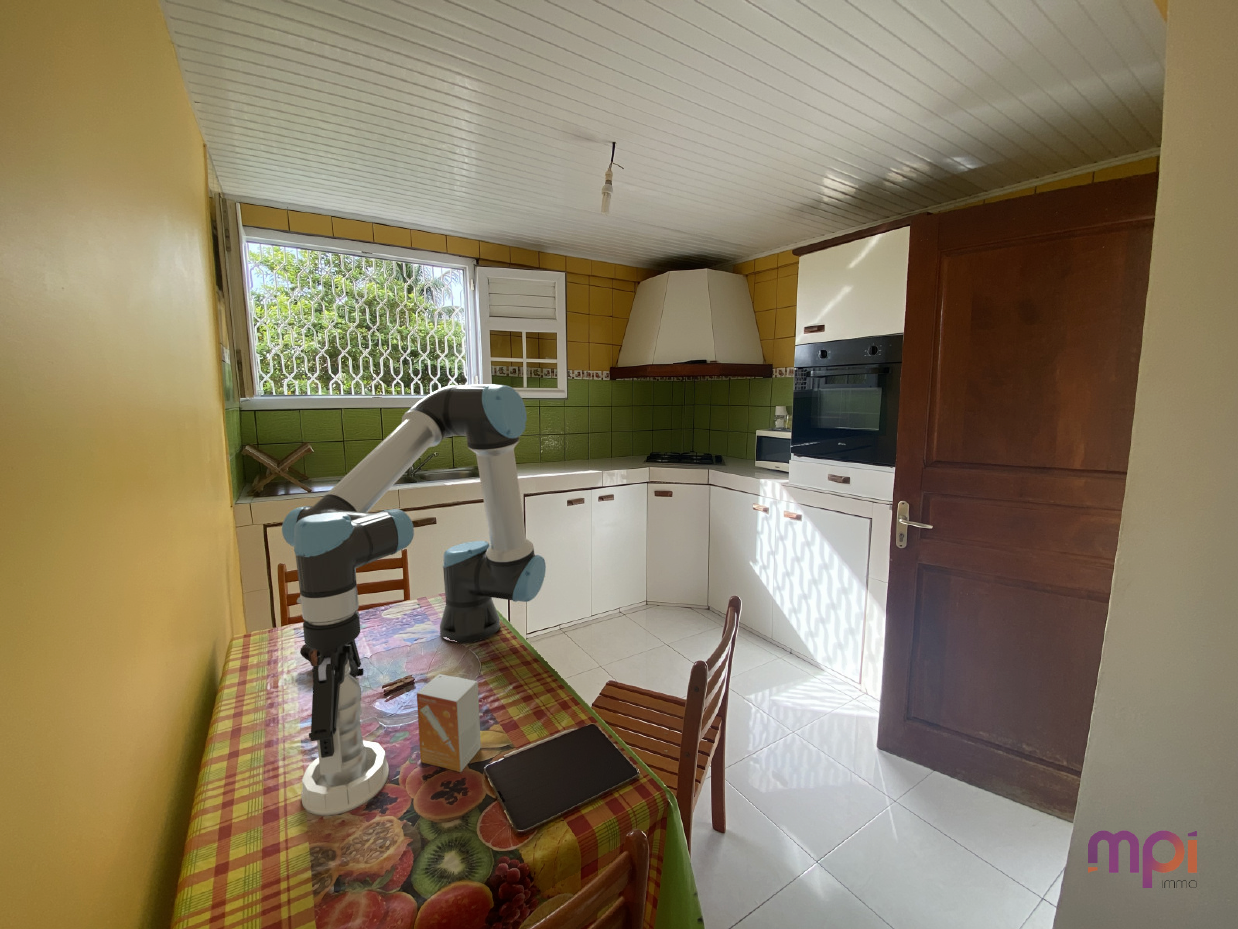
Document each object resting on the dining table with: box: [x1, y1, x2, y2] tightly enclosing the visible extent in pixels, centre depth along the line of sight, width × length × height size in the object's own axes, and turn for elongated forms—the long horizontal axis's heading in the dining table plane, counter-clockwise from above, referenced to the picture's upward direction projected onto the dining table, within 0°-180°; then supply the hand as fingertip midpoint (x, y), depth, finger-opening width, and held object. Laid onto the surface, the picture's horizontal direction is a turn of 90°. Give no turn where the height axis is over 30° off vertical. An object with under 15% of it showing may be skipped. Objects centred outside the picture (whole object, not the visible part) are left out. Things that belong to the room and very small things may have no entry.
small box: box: [416, 673, 482, 773], centre depth 87 cm, size 8×6×13 cm
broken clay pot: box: [299, 643, 320, 667], centre depth 115 cm, size 12×10×8 cm
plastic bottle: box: [323, 660, 368, 787], centre depth 80 cm, size 6×7×20 cm
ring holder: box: [300, 739, 390, 817], centre depth 82 cm, size 12×12×3 cm
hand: (342, 741), depth 81 cm, fingers open, 13 cm apart
